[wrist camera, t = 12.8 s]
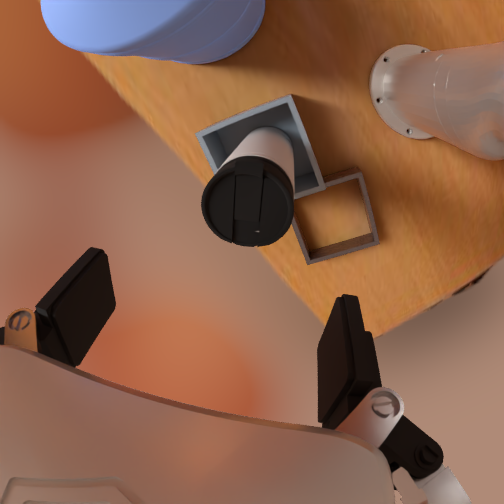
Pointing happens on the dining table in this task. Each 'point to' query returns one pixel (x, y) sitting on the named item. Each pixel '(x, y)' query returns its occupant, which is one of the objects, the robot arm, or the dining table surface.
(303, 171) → the grey bin
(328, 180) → the metal collar
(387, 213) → the dining table surface
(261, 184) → the travel mug
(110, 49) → the water jug
